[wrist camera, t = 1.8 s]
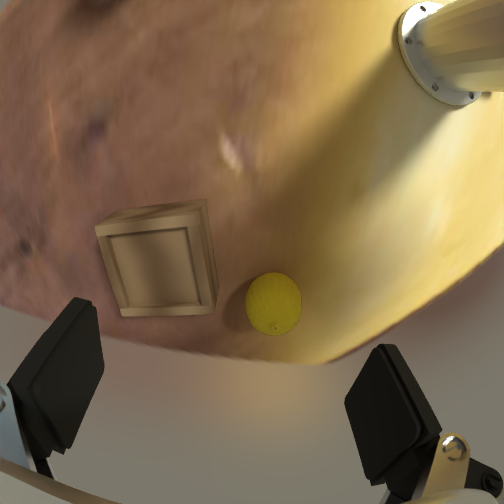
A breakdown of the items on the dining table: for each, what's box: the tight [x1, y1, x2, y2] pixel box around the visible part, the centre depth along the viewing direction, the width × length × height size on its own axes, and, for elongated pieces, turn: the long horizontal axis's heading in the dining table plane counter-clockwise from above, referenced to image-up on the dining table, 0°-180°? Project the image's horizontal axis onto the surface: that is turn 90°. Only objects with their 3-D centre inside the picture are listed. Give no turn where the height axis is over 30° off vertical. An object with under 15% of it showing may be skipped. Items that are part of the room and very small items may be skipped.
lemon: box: [245, 272, 302, 336], centre depth 29 cm, size 6×6×8 cm
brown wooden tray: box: [95, 199, 219, 316], centre depth 29 cm, size 10×10×5 cm
